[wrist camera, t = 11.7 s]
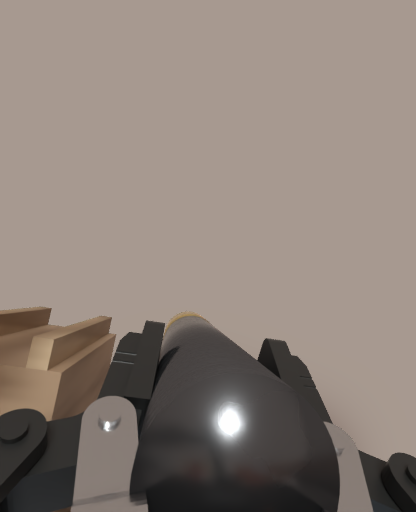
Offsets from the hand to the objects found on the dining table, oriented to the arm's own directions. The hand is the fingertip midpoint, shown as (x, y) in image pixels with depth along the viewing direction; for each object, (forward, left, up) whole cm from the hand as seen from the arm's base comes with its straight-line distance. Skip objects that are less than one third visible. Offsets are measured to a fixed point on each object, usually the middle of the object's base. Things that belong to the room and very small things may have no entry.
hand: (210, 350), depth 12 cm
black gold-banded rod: (0, +5, -3) cm, 6 cm away
